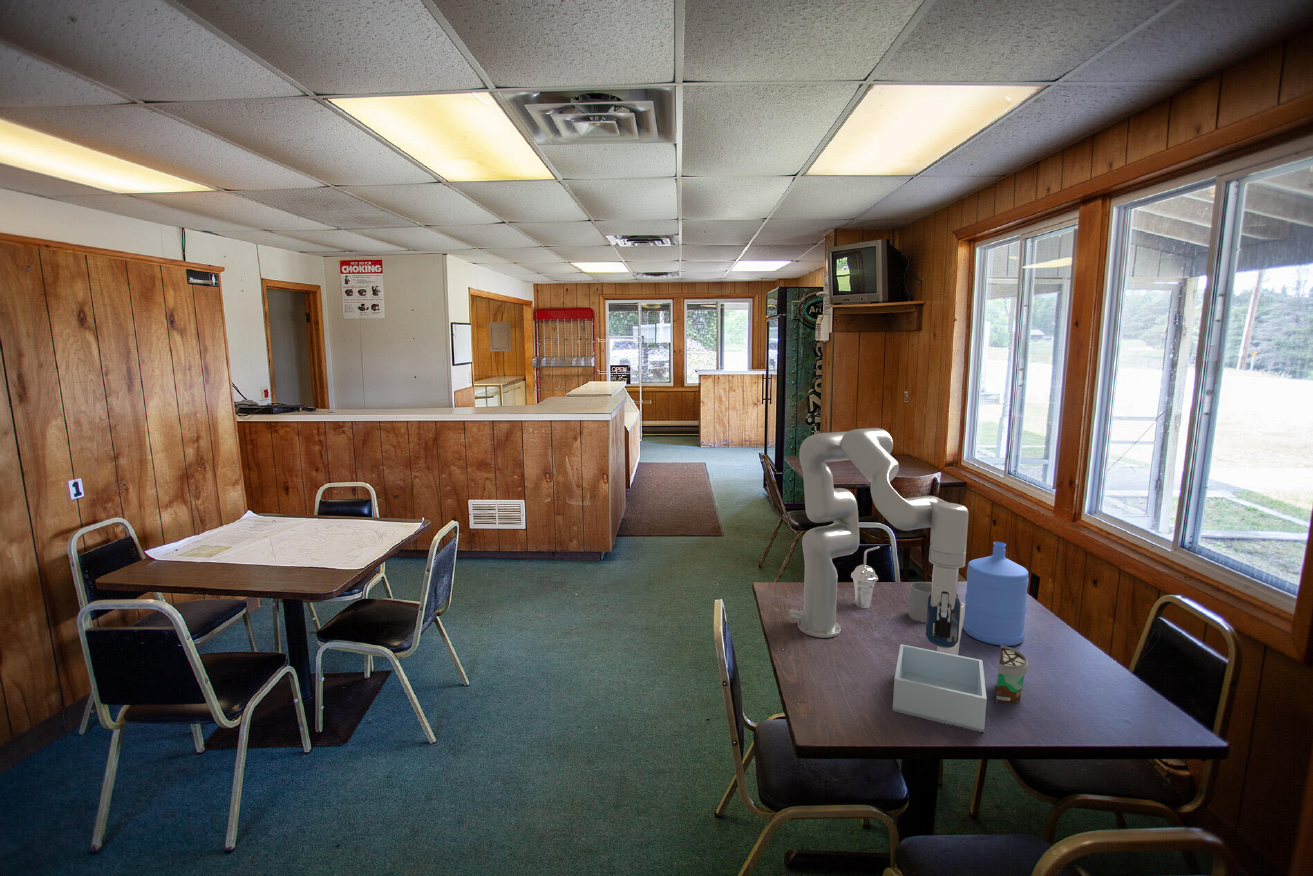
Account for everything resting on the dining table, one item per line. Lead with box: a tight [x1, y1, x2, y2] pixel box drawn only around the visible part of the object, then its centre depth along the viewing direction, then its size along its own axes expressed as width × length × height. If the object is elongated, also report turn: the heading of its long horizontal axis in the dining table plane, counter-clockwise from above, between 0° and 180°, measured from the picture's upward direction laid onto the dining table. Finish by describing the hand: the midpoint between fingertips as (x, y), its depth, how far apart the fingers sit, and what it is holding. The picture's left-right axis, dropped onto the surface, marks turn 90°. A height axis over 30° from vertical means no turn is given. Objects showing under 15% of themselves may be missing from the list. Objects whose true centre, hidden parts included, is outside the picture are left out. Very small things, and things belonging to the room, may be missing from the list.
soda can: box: [925, 593, 961, 648], centre depth 138 cm, size 7×7×12 cm
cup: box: [908, 581, 932, 623], centre depth 186 cm, size 8×8×10 cm
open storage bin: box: [892, 643, 987, 732], centre depth 140 cm, size 19×19×8 cm
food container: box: [995, 645, 1030, 704], centre depth 142 cm, size 12×6×10 cm, turn 148°
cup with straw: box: [850, 545, 881, 609], centre depth 194 cm, size 8×9×20 cm
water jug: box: [962, 541, 1029, 647], centre depth 173 cm, size 16×16×28 cm
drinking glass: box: [936, 600, 965, 655], centre depth 162 cm, size 7×7×15 cm
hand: (942, 629), depth 138 cm, fingers closed on soda can, 7 cm apart
